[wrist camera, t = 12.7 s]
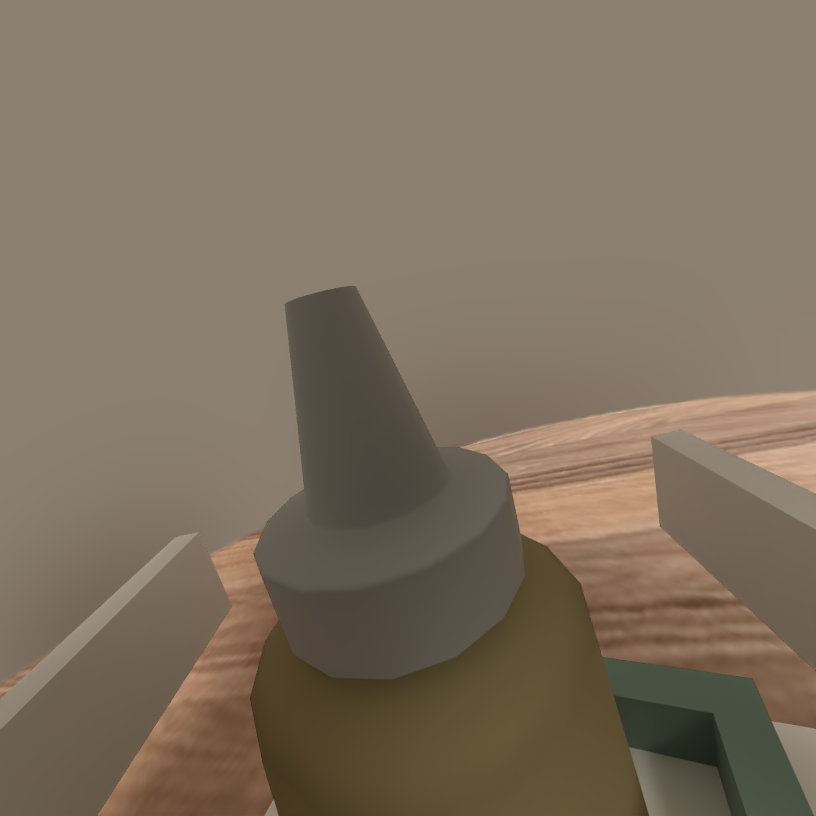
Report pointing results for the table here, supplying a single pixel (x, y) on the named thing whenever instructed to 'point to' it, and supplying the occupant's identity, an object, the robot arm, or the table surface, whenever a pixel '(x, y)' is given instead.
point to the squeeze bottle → (418, 616)
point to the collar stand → (709, 744)
